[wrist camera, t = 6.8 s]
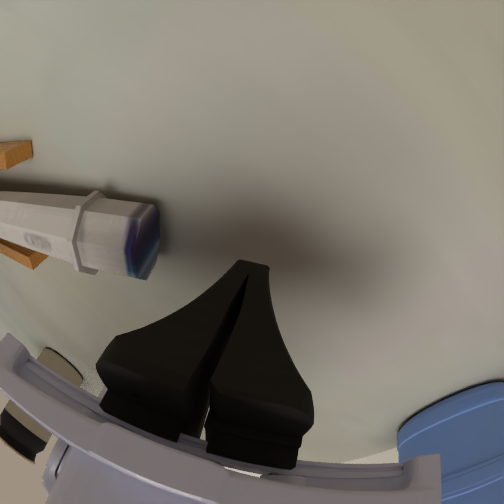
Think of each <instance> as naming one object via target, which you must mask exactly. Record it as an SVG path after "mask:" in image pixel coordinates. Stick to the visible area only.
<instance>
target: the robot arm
mask: <svg viewBox="0 0 504 504" xmlns="http://www.w3.org/2000/svg"><path fill="white" fill-rule="evenodd" d="M269 269H270V268H269V267H268V266H266V265H262V264H258V263H253V262H249V261H245V260H238V261H237V262H236V263H235V264H234V265H233V266H232V267H231V268H230V269H229V270H228V271H227V272H226V273H225V274H224V275H223V276H222V277H221V278H220V279H219V280H218V281H217V282H216V283H215V284H214V285H212V286H211V287H210V288H209V289H208V290H206V291H205V292H204V293H203V294H201V295H200V296H199V297H197V298H196V299H195V300H193V301H192V302H190V303H189V304H187V305H186V306H184V307H183V308H181V309H179V310H177V311H176V312H174V313H172V314H170V315H169V316H167V317H165V318H163V319H161V320H159V321H156V322H154V323H152V324H149V325H147V326H145V327H142V328H140V329H137V330H134V331H131V332H128V333H124V334H121V335H118V336H116V337H115V338H114V339H113V340H112V341H111V343H110V344H109V345H108V346H107V348H106V349H105V351H104V352H103V354H102V355H101V357H100V358H99V360H98V362H97V363H96V370H97V372H98V374H99V376H100V378H101V380H102V381H103V383H104V384H105V386H104V387H103V389H102V391H101V393H100V394H99V396H98V397H96V396H95V395H93V394H91V393H89V392H87V391H85V390H84V389H82V388H80V387H78V386H77V385H75V384H73V383H72V382H70V381H68V380H67V379H65V378H63V377H62V376H60V375H59V374H57V373H56V372H54V371H52V370H51V369H49V368H48V367H46V366H45V365H44V364H42V363H41V362H39V361H38V360H36V359H35V358H34V357H32V356H31V355H30V353H29V351H28V350H27V348H26V347H25V346H24V345H23V344H22V343H21V342H20V341H19V340H17V339H16V338H15V337H14V336H12V335H11V334H10V333H7V334H6V335H5V337H4V338H3V339H2V340H1V342H0V390H1V391H2V392H3V393H4V394H5V395H6V396H7V397H8V398H10V399H11V400H12V401H13V402H14V403H15V404H16V405H17V406H18V407H19V408H21V409H22V410H23V411H24V412H25V413H26V414H28V415H29V416H30V417H31V418H33V419H34V420H35V421H36V422H38V423H39V424H40V425H41V426H43V427H44V428H45V429H47V430H48V431H49V432H51V433H52V434H54V435H55V436H56V437H58V438H59V439H58V440H57V442H56V444H55V446H54V448H53V450H52V452H51V454H50V456H49V459H48V461H47V465H46V466H47V467H46V469H45V471H44V474H43V476H42V479H43V486H44V487H45V489H46V491H47V492H48V494H49V497H48V499H47V501H46V504H441V460H440V454H439V453H437V454H430V455H421V456H416V457H413V458H410V459H408V460H406V461H405V462H403V463H388V464H341V463H324V462H312V461H303V460H297V456H298V450H299V448H300V447H301V444H302V437H303V435H304V434H305V433H306V432H307V431H308V430H309V429H310V428H311V427H312V426H313V424H314V406H313V400H312V394H311V391H310V389H309V388H308V387H307V385H306V384H305V382H304V380H303V379H302V377H301V376H300V374H299V372H298V370H297V369H296V367H295V365H294V363H293V361H292V359H291V357H290V355H289V353H288V351H287V349H286V346H285V344H284V342H283V339H282V337H281V334H280V331H279V328H278V325H277V322H276V318H275V315H274V311H273V306H272V301H271V296H270V289H269ZM209 405H210V410H209V413H208V416H207V419H206V421H205V418H206V415H207V412H208V408H209ZM204 422H205V424H204ZM203 425H204V428H205V433H206V441H204V440H201V439H200V436H201V432H202V429H203ZM223 466H225V467H229V468H233V469H238V470H242V471H247V472H253V473H257V474H263V475H261V476H260V478H258V477H254V476H250V475H246V474H242V473H238V472H235V471H231V470H228V469H225V468H224V467H223Z"/></svg>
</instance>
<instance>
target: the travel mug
mask: <svg viewBox="0 0 504 504" xmlns="http://www.w3.org/2000/svg"><path fill="white" fill-rule="evenodd" d="M37 360H38V361H39V362H41V363H42V364H44V365H45V366H46V367H48V368H49V369H51V370H52V371H54V372H56V373H57V374H59V375H60V376H62V377H63V378H65V379H67V380H68V381H70V382H72V383H73V384H75V385H77V386H78V387H79V386H80V385H81V383H82V378H81V376H80V374H79V373H78V371H77V370H76V369H75V368H74V367H73V366H72V365H71V364H70V363H69V362H68V361H67V360H66V359H64V358H63V357H62V356H61V355H59V354H58V353H56V352H54V351H53V350H50V349H44V350H43V351H42V353H41V354H40V355H39V357H38V358H37ZM51 435H52V433H51V432H49V431H48V430H47V429H45V428H44V427H43V426H41V425H40V424H39V423H38V422H36V421H35V420H34V419H33V418H31V417H30V416H29V415H28V414H26V413H25V412H24V411H23V410H22V409H21V408H19V407H18V406H17V405H16V404H15V403H14V402H13V401H12V400H11V399H10V400H9V402H8V403H7V405H6V407H5V408H4V410H3V412H2V413H1V415H0V441H1V442H2V443H3V444H4V445H5V446H7V447H8V448H9V449H10V450H11V451H13V452H14V453H15V454H17V455H18V456H19V457H21V458H22V459H24V460H26V461H27V462H29V463H31V464H35V456H36V454H37V453H39V452H41V451H43V450H44V448H45V446H46V444H47V443H48V441H49V439H50V437H51Z"/></svg>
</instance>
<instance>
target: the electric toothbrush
mask: <svg viewBox="0 0 504 504" xmlns="http://www.w3.org/2000/svg"><path fill="white" fill-rule="evenodd" d="M0 238H2V239H4V240H7V241H10V242H12V243H15V244H18V245H21V246H23V247H26V248H29V249H32V250H35V251H38V252H41V253H44V254H46V255H49V256H52V257H55V258H59V259H62V260H65V261H68V262H71V263H73V267H74V270H75V271H79V272H83V273H88V274H92V275H95V274H96V273H97V271H98V270H101V271H105V272H110V273H114V274H119V275H124V276H128V277H133V278H138V279H143V280H147V279H148V277H149V275H150V273H151V271H152V270H153V268H154V266H155V264H156V260H157V255H158V250H159V246H160V233H159V211H158V210H157V208H156V207H155V206H154V205H153V204H146V203H138V202H130V201H122V200H114V199H108V198H107V197H105V196H104V195H103V194H102V193H101V192H100V191H93V192H92V193H91V194H89V195H88V196H87V197H86V196H73V195H60V194H45V193H29V192H9V191H0Z"/></svg>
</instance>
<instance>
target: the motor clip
mask: <svg viewBox="0 0 504 504" xmlns="http://www.w3.org/2000/svg"><path fill="white" fill-rule="evenodd" d="M31 157H33V154H32V143H31V141H14V142H1V143H0V169H6V170H7V169H9V168H11V167H13V166H15V165H17V164H19V163H21V162H23V161H25V160H27V159H29V158H31ZM0 253H2V254H4V255H6V256H8V257H9V258H11V259H13V260H15V261H17V262H19V263H21V264H23V265H25V266H27V267H29V268H31V269H33V270H34V269H35V268H36V267H37V266H38V265H39V264H40V263H41V262H42V261H44V260H45V259H46V258H47V257H48V256H49V255H46V254H44V253H41V252H38V251H35V250H32V249H29V248H26V247H23V246H21V245H18V244H15V243H12V242H10V241H7V240H4V239H2V238H0Z"/></svg>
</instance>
